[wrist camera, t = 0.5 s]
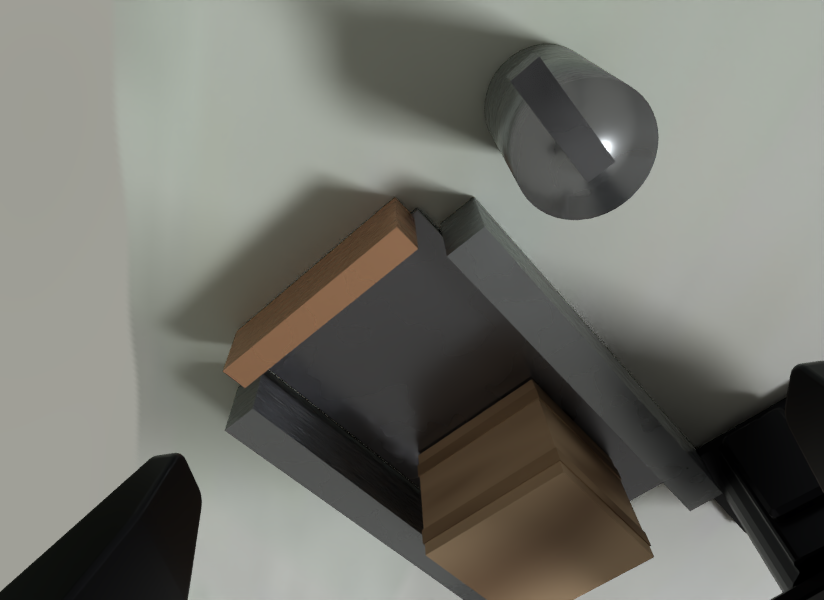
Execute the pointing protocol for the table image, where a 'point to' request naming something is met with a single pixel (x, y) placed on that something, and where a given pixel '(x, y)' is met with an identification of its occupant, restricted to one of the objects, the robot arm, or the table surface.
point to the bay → (459, 322)
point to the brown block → (527, 504)
